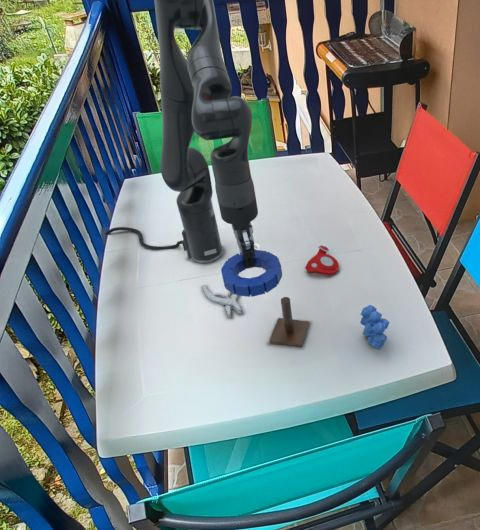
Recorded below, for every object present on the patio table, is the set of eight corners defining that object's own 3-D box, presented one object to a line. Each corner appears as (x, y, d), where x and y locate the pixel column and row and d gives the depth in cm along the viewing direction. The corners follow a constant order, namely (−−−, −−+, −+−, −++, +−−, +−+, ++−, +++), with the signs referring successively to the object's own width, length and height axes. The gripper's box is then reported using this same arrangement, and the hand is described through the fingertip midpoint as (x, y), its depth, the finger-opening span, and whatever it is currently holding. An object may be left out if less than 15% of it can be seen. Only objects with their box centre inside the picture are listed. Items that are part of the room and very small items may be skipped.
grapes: (398, 355, 119) (401, 320, 112) (373, 364, 117) (373, 328, 110) (379, 323, 128) (380, 288, 120) (355, 330, 125) (354, 295, 118)
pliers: (236, 273, 140) (252, 305, 130) (237, 277, 141) (253, 309, 131) (201, 283, 136) (215, 317, 126) (202, 287, 137) (216, 322, 127)
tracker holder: (346, 268, 143) (316, 273, 137) (341, 278, 146) (312, 284, 140) (327, 239, 149) (298, 243, 143) (323, 250, 152) (294, 254, 146)
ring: (214, 292, 104) (212, 282, 102) (236, 257, 114) (234, 247, 112) (271, 299, 103) (269, 289, 101) (288, 262, 112) (287, 253, 110)
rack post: (269, 343, 122) (263, 309, 114) (278, 320, 128) (273, 287, 121) (301, 347, 121) (297, 313, 114) (308, 323, 127) (305, 290, 120)
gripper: (213, 183, 104) (227, 248, 115) (222, 217, 94) (237, 285, 105) (248, 177, 106) (259, 241, 117) (261, 210, 96) (271, 277, 107)
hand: (248, 262), depth 111 cm, fingers closed on ring, 3 cm apart
